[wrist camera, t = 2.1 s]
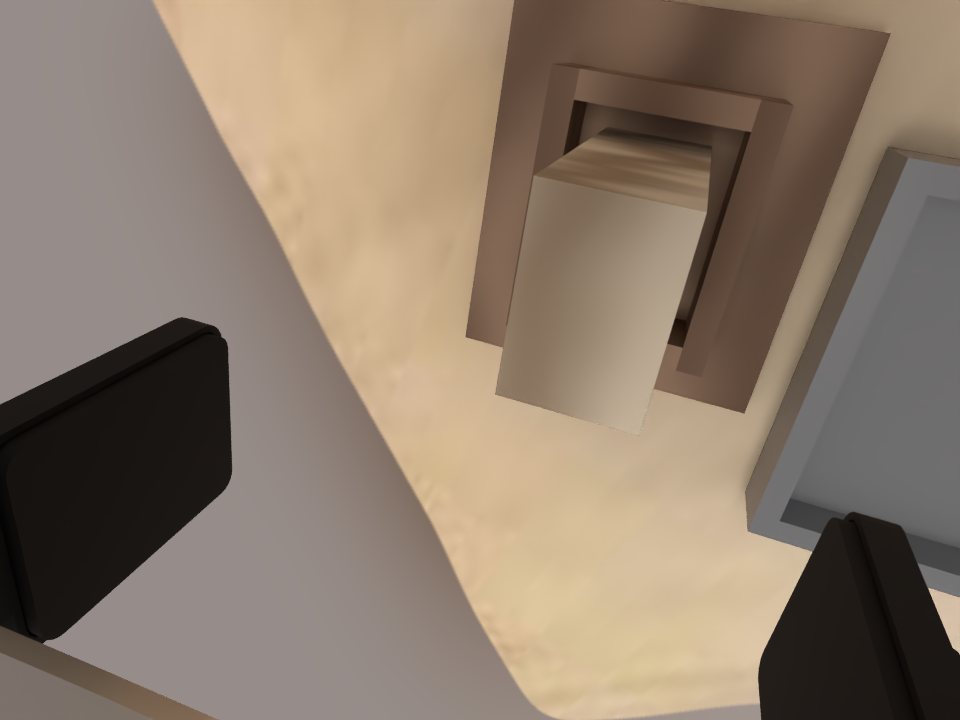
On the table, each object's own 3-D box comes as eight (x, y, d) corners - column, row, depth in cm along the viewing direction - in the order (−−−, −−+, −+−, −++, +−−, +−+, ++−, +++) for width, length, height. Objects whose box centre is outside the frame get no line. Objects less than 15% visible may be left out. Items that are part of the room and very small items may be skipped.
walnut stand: (884, 34, 23) (913, 30, 19) (743, 402, 30) (746, 448, 26) (524, -19, 26) (494, -30, 22) (472, 329, 32) (442, 362, 29)
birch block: (711, 146, 25) (707, 212, 15) (668, 293, 28) (639, 436, 17) (607, 126, 26) (533, 175, 15) (576, 270, 29) (495, 394, 18)
